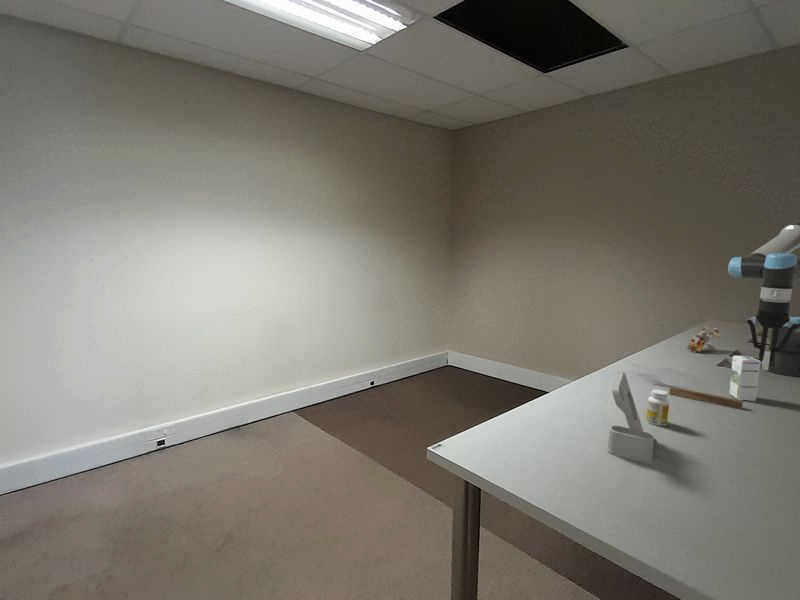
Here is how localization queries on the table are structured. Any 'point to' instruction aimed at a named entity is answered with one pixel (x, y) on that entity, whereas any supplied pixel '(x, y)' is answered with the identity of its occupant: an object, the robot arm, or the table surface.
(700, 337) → the voxel character
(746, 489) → the table surface
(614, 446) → the phone holder
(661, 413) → the supplement bottle
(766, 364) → the robot arm
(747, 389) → the syrup box
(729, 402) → the walnut stop rail
